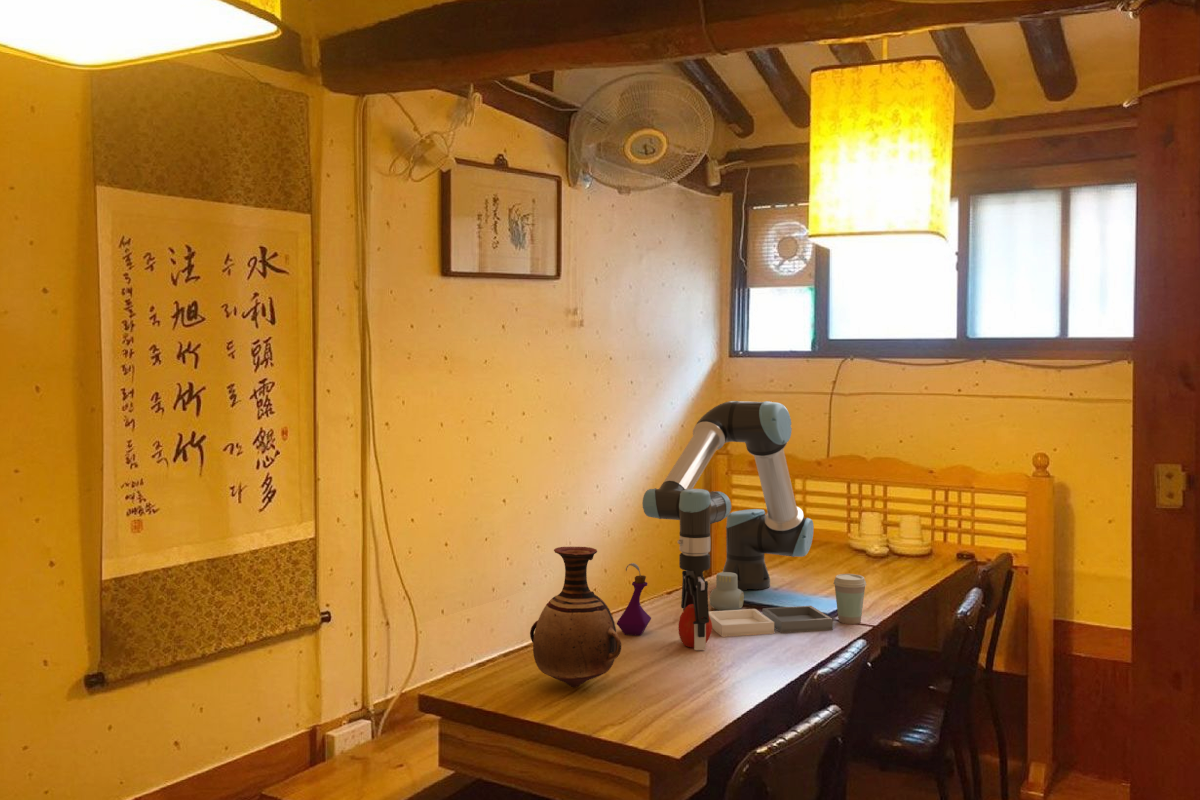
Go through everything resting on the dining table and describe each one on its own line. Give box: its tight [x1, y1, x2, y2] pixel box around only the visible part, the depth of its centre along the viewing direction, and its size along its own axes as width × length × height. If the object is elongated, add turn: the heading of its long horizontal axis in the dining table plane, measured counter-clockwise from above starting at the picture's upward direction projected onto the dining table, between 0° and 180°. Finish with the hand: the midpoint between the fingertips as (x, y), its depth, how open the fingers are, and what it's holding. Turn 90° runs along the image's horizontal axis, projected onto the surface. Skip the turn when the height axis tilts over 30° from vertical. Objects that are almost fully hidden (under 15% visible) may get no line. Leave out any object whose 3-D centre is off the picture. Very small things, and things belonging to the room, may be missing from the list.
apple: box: [678, 604, 713, 649], centre depth 252 cm, size 8×8×11 cm
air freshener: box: [709, 571, 745, 611], centre depth 288 cm, size 11×8×10 cm
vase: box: [529, 546, 622, 688], centre depth 222 cm, size 21×18×30 cm
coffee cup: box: [833, 573, 867, 625], centre depth 275 cm, size 8×9×12 cm
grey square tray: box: [761, 605, 834, 634], centre depth 272 cm, size 14×14×3 cm
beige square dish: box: [709, 608, 775, 638], centre depth 269 cm, size 14×14×3 cm
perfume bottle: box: [616, 562, 652, 637], centre depth 264 cm, size 8×8×18 cm
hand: (694, 644), depth 253 cm, fingers closed on apple, 8 cm apart
